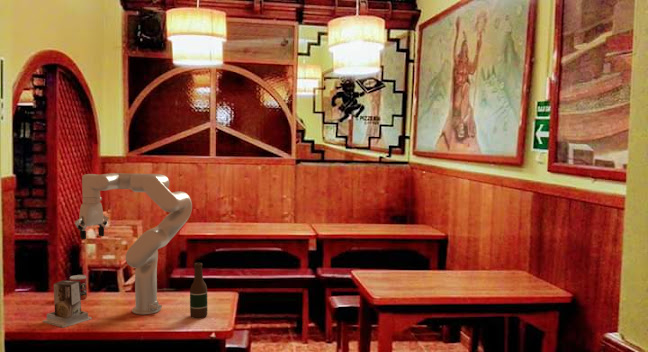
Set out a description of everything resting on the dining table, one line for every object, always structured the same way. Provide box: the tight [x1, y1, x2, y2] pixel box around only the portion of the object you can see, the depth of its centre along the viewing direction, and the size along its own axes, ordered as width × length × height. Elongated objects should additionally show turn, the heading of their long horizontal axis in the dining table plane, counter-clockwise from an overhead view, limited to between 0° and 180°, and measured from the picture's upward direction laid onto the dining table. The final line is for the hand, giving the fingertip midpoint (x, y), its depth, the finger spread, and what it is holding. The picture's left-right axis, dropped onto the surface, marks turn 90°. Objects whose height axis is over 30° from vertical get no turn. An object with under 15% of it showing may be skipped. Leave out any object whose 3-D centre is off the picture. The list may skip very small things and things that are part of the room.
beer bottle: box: [189, 262, 208, 319], centre depth 259 cm, size 8×8×24 cm
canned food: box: [69, 274, 88, 301], centre depth 287 cm, size 8×8×11 cm
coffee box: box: [53, 279, 82, 318], centre depth 253 cm, size 9×6×16 cm
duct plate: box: [42, 310, 93, 329], centre depth 253 cm, size 14×14×3 cm
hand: (92, 237), depth 269 cm, fingers open, 9 cm apart
